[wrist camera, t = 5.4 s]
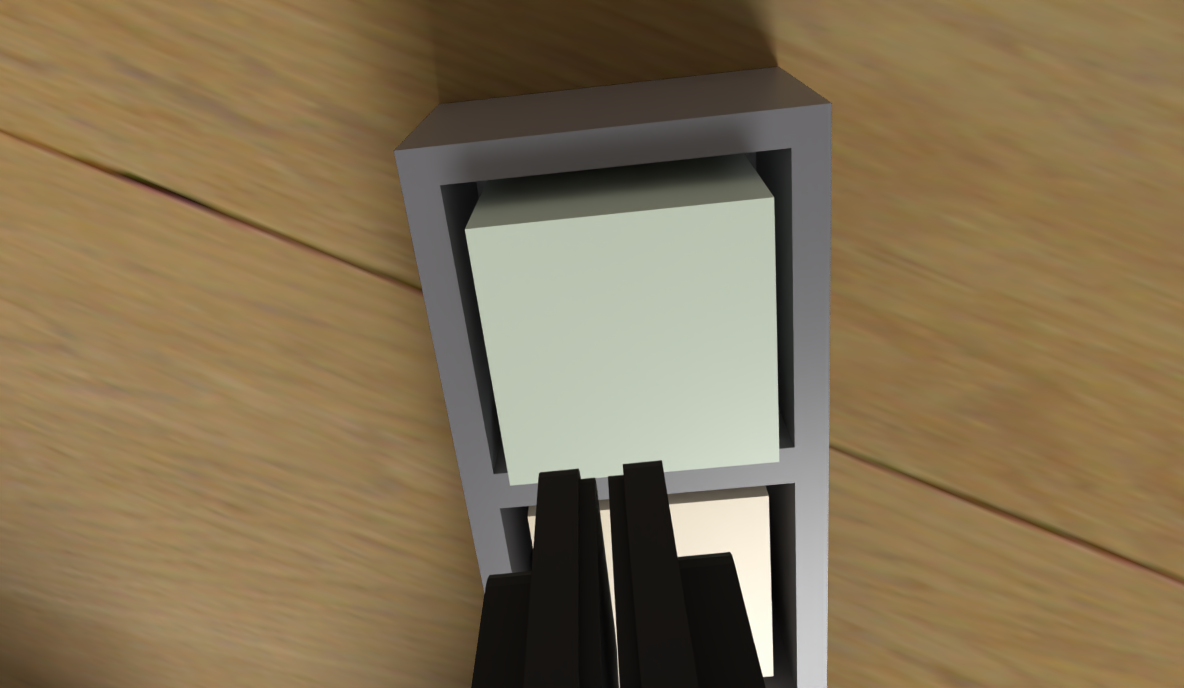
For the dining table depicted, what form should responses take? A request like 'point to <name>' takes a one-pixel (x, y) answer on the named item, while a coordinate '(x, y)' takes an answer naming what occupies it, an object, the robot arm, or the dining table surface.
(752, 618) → the key sand
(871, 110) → the dining table surface
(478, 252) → the key sage
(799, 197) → the grey compartment tray
